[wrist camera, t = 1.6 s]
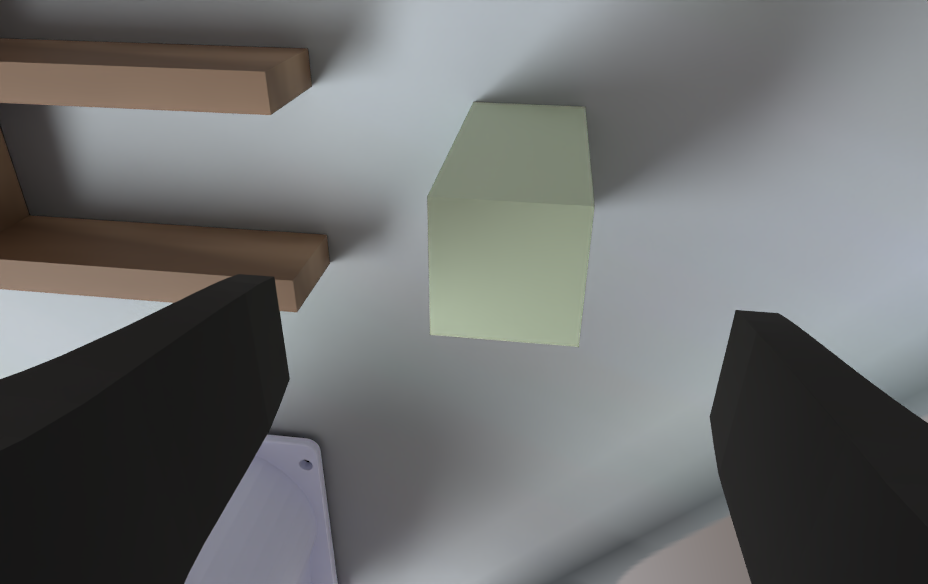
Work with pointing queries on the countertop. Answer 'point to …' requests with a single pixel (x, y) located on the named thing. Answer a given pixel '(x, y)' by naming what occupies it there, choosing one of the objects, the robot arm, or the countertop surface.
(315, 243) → the comb rack
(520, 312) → the sage block
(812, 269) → the countertop surface
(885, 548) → the robot arm
